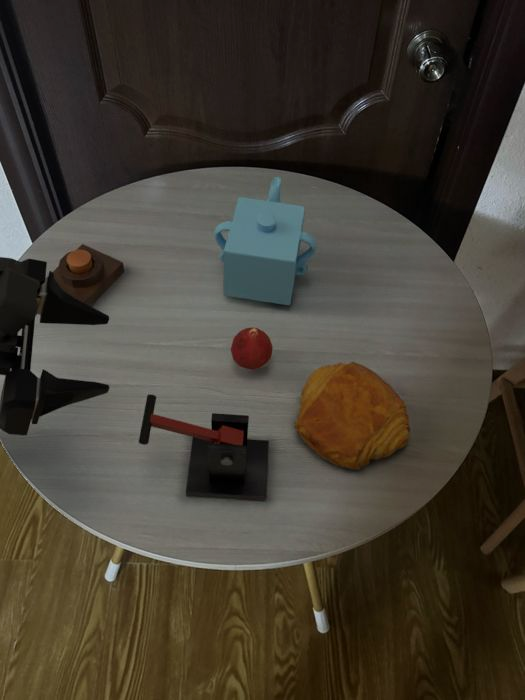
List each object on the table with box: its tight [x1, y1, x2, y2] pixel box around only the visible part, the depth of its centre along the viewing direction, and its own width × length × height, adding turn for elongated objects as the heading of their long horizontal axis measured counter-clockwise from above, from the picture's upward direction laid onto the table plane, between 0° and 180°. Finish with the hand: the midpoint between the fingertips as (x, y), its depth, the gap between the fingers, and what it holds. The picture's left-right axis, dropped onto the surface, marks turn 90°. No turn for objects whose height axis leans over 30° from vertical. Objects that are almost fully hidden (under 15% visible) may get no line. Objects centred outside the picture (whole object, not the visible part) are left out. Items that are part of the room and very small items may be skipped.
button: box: [67, 249, 93, 274], centre depth 94 cm, size 4×4×2 cm
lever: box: [138, 394, 244, 446], centre depth 72 cm, size 12×6×2 cm, turn 87°
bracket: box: [185, 412, 270, 502], centre depth 76 cm, size 10×8×10 cm
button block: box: [46, 243, 125, 307], centre depth 96 cm, size 10×8×4 cm
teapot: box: [213, 176, 317, 306], centre depth 97 cm, size 18×16×13 cm
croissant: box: [293, 361, 411, 471], centre depth 82 cm, size 14×16×8 cm
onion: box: [230, 327, 273, 371], centre depth 87 cm, size 6×6×8 cm
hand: (108, 353), depth 67 cm, fingers open, 9 cm apart
